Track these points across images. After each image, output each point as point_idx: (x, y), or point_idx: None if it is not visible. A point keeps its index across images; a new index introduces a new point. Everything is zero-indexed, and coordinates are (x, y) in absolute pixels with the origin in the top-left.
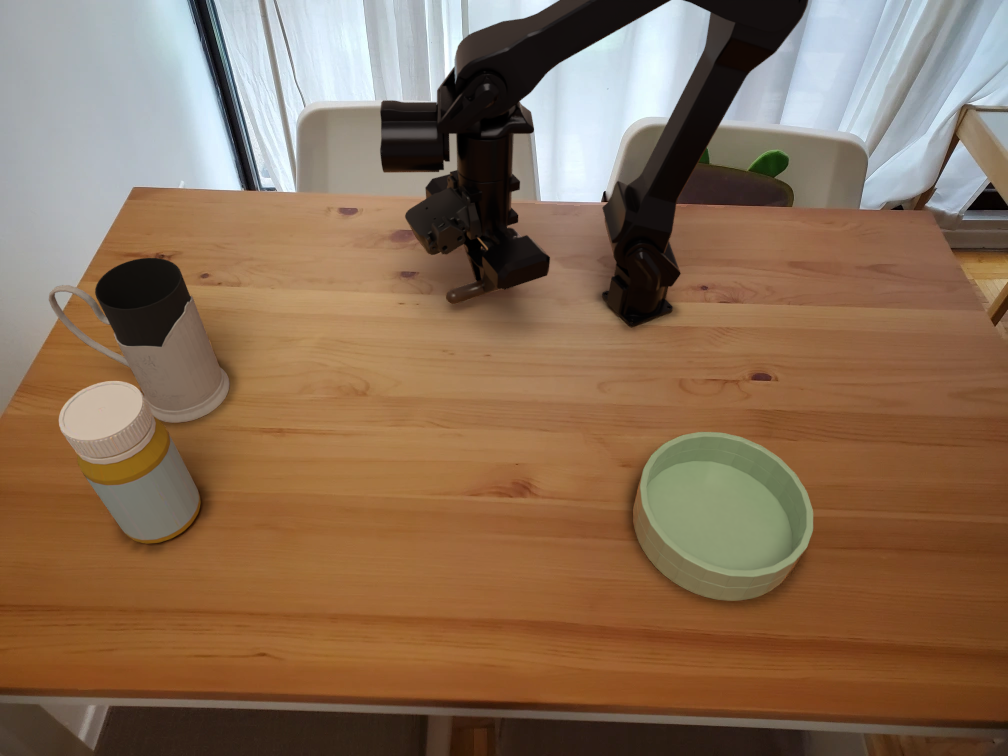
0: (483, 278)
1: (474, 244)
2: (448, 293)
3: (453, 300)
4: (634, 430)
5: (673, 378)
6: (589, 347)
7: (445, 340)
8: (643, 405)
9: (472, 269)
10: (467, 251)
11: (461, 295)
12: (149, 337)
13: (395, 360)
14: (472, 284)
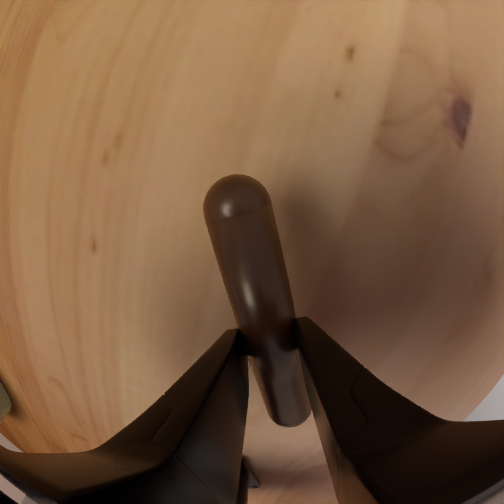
0: (183, 381)
1: (341, 474)
2: (233, 189)
3: (204, 202)
4: (13, 372)
5: (86, 438)
6: (124, 407)
7: (155, 146)
8: (43, 398)
9: (315, 341)
10: (350, 407)
11: (213, 243)
12: None
13: (121, 21)
14: (258, 306)
